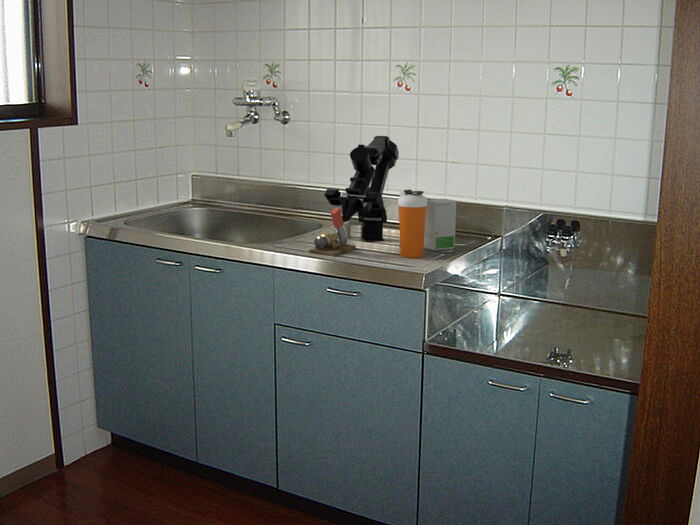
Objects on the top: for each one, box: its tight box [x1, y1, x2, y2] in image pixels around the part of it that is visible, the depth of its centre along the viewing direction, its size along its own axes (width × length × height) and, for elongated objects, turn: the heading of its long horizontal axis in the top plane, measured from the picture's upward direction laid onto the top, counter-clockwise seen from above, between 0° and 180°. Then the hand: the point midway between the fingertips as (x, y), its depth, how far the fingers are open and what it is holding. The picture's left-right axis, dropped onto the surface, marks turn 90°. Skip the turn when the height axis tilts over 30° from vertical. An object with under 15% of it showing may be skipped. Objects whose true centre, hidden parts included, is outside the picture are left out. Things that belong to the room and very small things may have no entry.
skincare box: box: [424, 198, 457, 251], centre depth 267 cm, size 8×7×16 cm
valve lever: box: [330, 207, 348, 245], centre depth 259 cm, size 3×2×13 cm, turn 150°
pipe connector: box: [332, 218, 362, 239], centre depth 284 cm, size 10×10×10 cm
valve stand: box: [308, 230, 356, 257], centre depth 264 cm, size 13×9×6 cm
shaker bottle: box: [397, 188, 427, 259], centre depth 256 cm, size 9×9×20 cm
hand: (344, 221), depth 258 cm, fingers closed
